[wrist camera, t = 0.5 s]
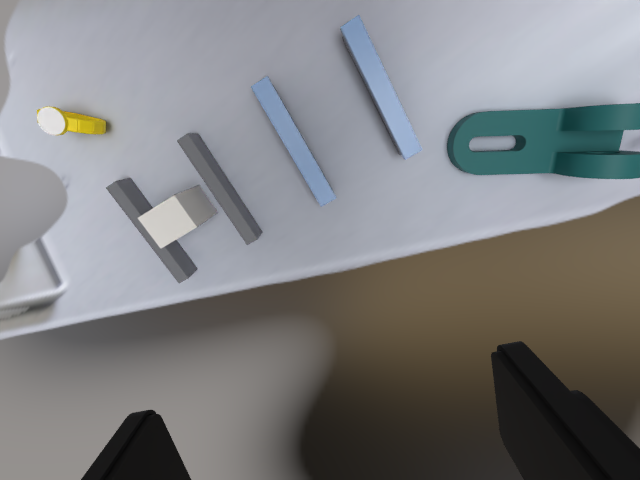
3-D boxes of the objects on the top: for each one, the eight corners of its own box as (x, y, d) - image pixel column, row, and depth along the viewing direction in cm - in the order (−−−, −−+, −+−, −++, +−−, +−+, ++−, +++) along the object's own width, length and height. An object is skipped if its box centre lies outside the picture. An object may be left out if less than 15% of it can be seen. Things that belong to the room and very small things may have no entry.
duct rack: (120, 182, 41) (100, 187, 38) (356, 26, 35) (359, 14, 31) (189, 275, 45) (177, 287, 41) (413, 148, 39) (422, 149, 35)
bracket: (612, 107, 37) (683, 101, 29) (598, 169, 39) (661, 177, 32) (449, 113, 38) (478, 109, 30) (444, 173, 40) (470, 182, 32)
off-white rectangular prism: (168, 204, 42) (137, 218, 35) (199, 184, 41) (174, 195, 34) (187, 230, 43) (160, 248, 36) (218, 212, 42) (196, 227, 35)
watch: (115, 115, 39) (83, 114, 33) (115, 139, 40) (83, 142, 34) (61, 103, 38) (20, 99, 33) (62, 128, 39) (21, 128, 34)
